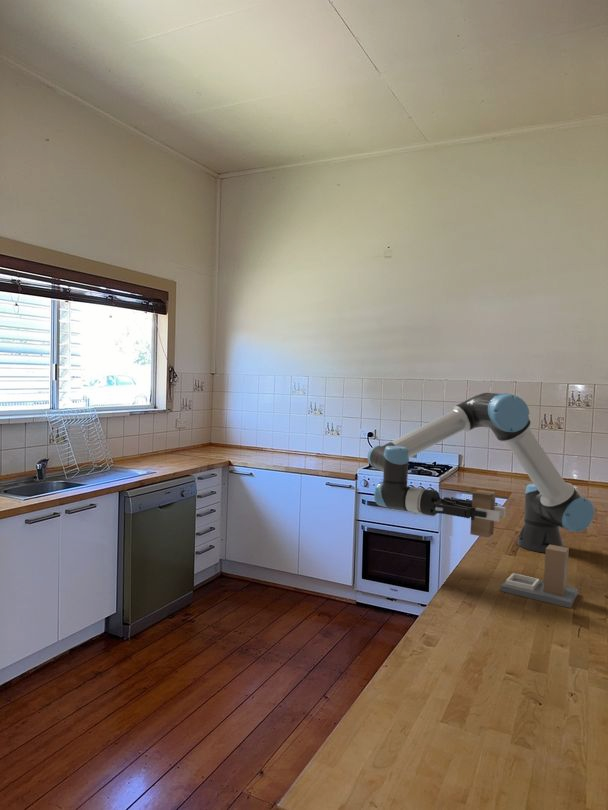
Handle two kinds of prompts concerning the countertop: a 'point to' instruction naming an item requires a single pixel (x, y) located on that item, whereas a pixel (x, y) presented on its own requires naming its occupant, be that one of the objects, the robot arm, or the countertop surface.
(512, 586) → the baseplate
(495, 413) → the robot arm
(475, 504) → the pillar
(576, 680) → the countertop surface
